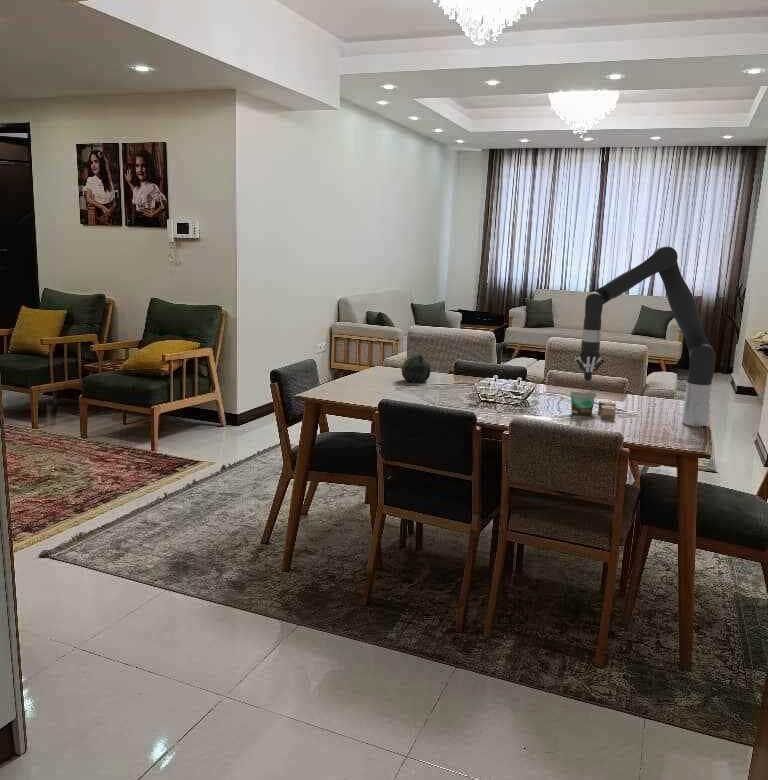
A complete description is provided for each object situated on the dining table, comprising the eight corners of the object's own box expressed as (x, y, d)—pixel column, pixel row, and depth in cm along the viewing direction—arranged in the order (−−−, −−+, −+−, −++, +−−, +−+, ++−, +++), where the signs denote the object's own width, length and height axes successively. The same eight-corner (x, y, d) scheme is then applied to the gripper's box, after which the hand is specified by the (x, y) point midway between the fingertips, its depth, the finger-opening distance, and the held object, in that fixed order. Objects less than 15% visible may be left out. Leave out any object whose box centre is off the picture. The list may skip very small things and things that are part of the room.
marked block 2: (614, 420, 294) (615, 408, 293) (601, 419, 295) (602, 407, 294) (612, 417, 299) (613, 405, 298) (600, 416, 300) (601, 404, 299)
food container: (577, 417, 298) (579, 394, 296) (568, 413, 303) (570, 391, 301) (601, 415, 303) (603, 392, 301) (591, 411, 308) (593, 389, 306)
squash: (399, 367, 375) (403, 349, 363) (427, 368, 377) (432, 350, 365) (401, 389, 366) (405, 371, 354) (429, 390, 368) (434, 372, 356)
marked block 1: (614, 415, 303) (615, 403, 302) (604, 415, 302) (605, 403, 301) (608, 412, 308) (609, 400, 307) (598, 412, 307) (599, 401, 306)
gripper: (578, 341, 292) (575, 382, 296) (609, 341, 293) (606, 382, 297) (572, 338, 299) (569, 378, 303) (602, 339, 301) (599, 379, 304)
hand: (587, 380), depth 300 cm, fingers closed
